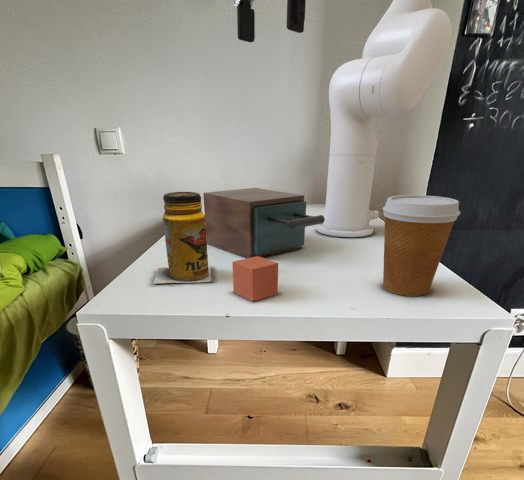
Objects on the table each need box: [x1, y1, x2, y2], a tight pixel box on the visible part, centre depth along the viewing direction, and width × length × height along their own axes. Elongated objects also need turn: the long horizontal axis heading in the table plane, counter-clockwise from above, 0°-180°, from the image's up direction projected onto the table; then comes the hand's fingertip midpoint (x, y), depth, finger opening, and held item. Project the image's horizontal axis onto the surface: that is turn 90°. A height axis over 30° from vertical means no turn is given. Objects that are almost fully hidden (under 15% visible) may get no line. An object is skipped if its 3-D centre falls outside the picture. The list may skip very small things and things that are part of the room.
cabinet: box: [202, 187, 305, 259], centre depth 74 cm, size 15×13×10 cm
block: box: [232, 256, 279, 302], centre depth 53 cm, size 4×4×4 cm
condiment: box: [152, 191, 212, 285], centre depth 57 cm, size 7×8×12 cm
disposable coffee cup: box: [382, 194, 461, 297], centre depth 53 cm, size 10×10×12 cm
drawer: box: [253, 200, 325, 255], centre depth 71 cm, size 20×11×8 cm, turn 39°
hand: (269, 36), depth 58 cm, fingers open, 9 cm apart
